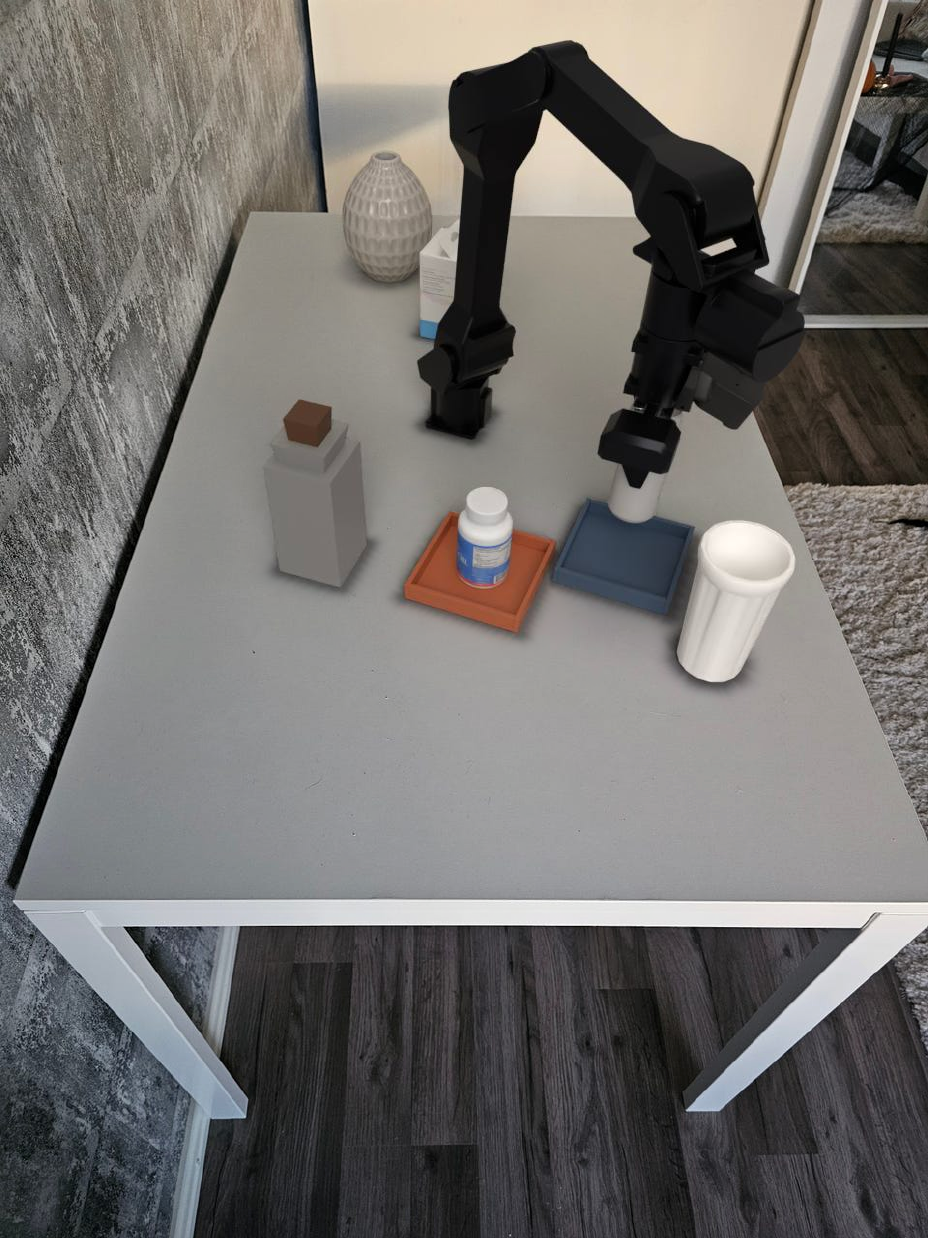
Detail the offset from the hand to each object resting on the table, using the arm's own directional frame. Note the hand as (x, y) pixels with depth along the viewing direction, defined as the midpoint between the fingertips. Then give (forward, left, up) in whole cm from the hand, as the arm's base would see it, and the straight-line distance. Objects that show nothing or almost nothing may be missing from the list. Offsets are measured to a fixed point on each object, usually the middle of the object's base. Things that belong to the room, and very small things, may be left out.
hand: (641, 470), depth 87 cm
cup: (+11, -11, -12) cm, 19 cm away
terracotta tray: (-13, -9, -12) cm, 19 cm away
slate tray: (0, -1, -12) cm, 12 cm away
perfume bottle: (-29, -13, -12) cm, 34 cm away
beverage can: (0, -1, -5) cm, 5 cm away
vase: (-48, +45, -12) cm, 67 cm away
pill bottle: (-13, -8, -11) cm, 19 cm away
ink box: (-33, +35, -12) cm, 50 cm away
